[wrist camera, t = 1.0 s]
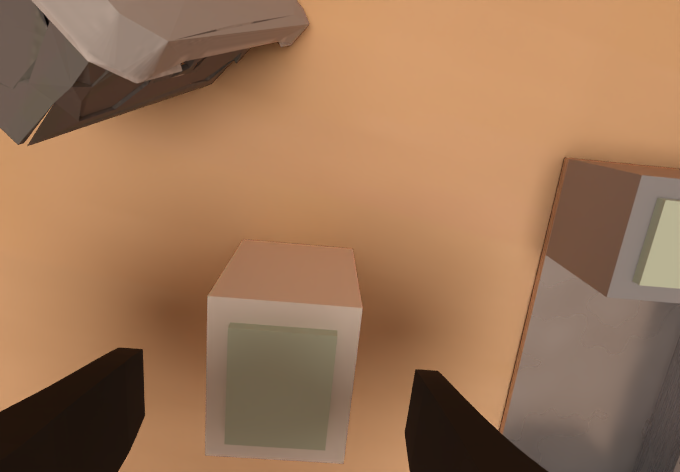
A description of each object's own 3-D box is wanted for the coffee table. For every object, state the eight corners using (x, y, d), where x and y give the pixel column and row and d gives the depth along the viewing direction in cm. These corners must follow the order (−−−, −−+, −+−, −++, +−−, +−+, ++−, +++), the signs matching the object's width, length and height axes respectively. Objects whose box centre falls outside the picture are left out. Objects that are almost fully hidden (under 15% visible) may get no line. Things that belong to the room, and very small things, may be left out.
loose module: (339, 366, 18) (343, 472, 13) (238, 359, 18) (202, 463, 13) (352, 247, 16) (363, 313, 11) (243, 238, 16) (204, 300, 11)
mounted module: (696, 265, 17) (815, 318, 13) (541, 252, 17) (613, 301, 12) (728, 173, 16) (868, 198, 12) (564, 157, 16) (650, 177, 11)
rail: (644, 541, 21) (676, 586, 19) (475, 532, 20) (490, 577, 18) (781, 178, 16) (843, 189, 14) (564, 157, 16) (597, 164, 14)
